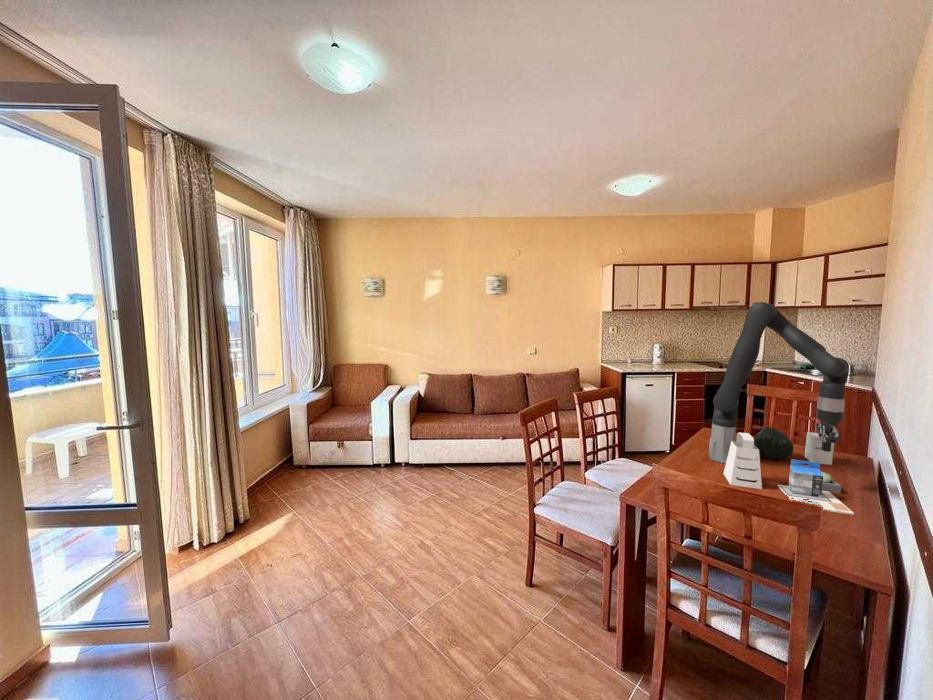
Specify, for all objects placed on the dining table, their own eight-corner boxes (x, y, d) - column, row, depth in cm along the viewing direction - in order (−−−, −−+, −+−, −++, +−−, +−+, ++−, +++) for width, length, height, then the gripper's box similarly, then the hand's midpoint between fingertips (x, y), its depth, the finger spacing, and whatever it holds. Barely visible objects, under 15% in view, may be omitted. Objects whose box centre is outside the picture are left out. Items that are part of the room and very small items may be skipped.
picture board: (796, 506, 132) (796, 504, 132) (777, 485, 147) (777, 484, 147) (854, 514, 126) (854, 513, 126) (828, 492, 141) (828, 491, 141)
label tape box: (791, 493, 140) (794, 462, 138) (787, 488, 143) (790, 458, 142) (821, 498, 136) (825, 466, 134) (816, 493, 140) (820, 462, 138)
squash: (805, 454, 163) (790, 423, 172) (768, 454, 166) (755, 423, 174) (787, 464, 175) (774, 435, 183) (753, 464, 177) (741, 434, 186)
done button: (818, 484, 144) (819, 475, 144) (812, 480, 148) (813, 470, 148) (832, 486, 142) (833, 477, 142) (826, 481, 147) (827, 472, 146)
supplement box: (811, 463, 167) (814, 436, 166) (803, 456, 174) (806, 431, 172) (832, 465, 164) (835, 438, 163) (823, 459, 171) (826, 433, 170)
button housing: (814, 489, 143) (814, 482, 143) (804, 480, 151) (805, 473, 150) (840, 493, 140) (841, 486, 140) (829, 484, 148) (829, 477, 147)
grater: (752, 477, 154) (756, 432, 152) (761, 489, 144) (766, 441, 142) (723, 473, 158) (726, 429, 156) (730, 484, 148) (734, 437, 146)
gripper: (809, 403, 149) (805, 443, 151) (827, 412, 137) (822, 456, 139) (833, 405, 146) (828, 446, 148) (853, 414, 134) (848, 458, 136)
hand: (825, 450), depth 144 cm, fingers closed
